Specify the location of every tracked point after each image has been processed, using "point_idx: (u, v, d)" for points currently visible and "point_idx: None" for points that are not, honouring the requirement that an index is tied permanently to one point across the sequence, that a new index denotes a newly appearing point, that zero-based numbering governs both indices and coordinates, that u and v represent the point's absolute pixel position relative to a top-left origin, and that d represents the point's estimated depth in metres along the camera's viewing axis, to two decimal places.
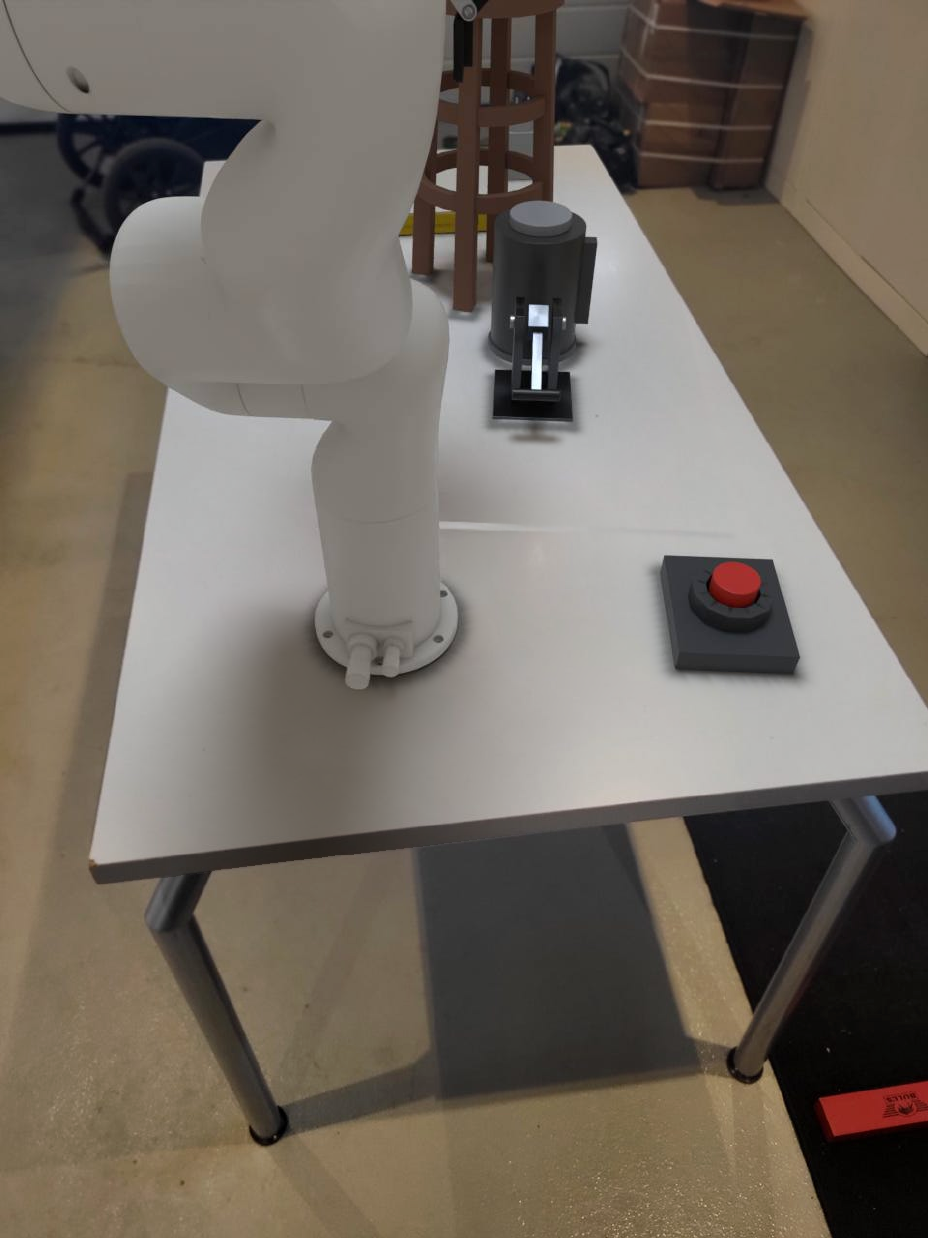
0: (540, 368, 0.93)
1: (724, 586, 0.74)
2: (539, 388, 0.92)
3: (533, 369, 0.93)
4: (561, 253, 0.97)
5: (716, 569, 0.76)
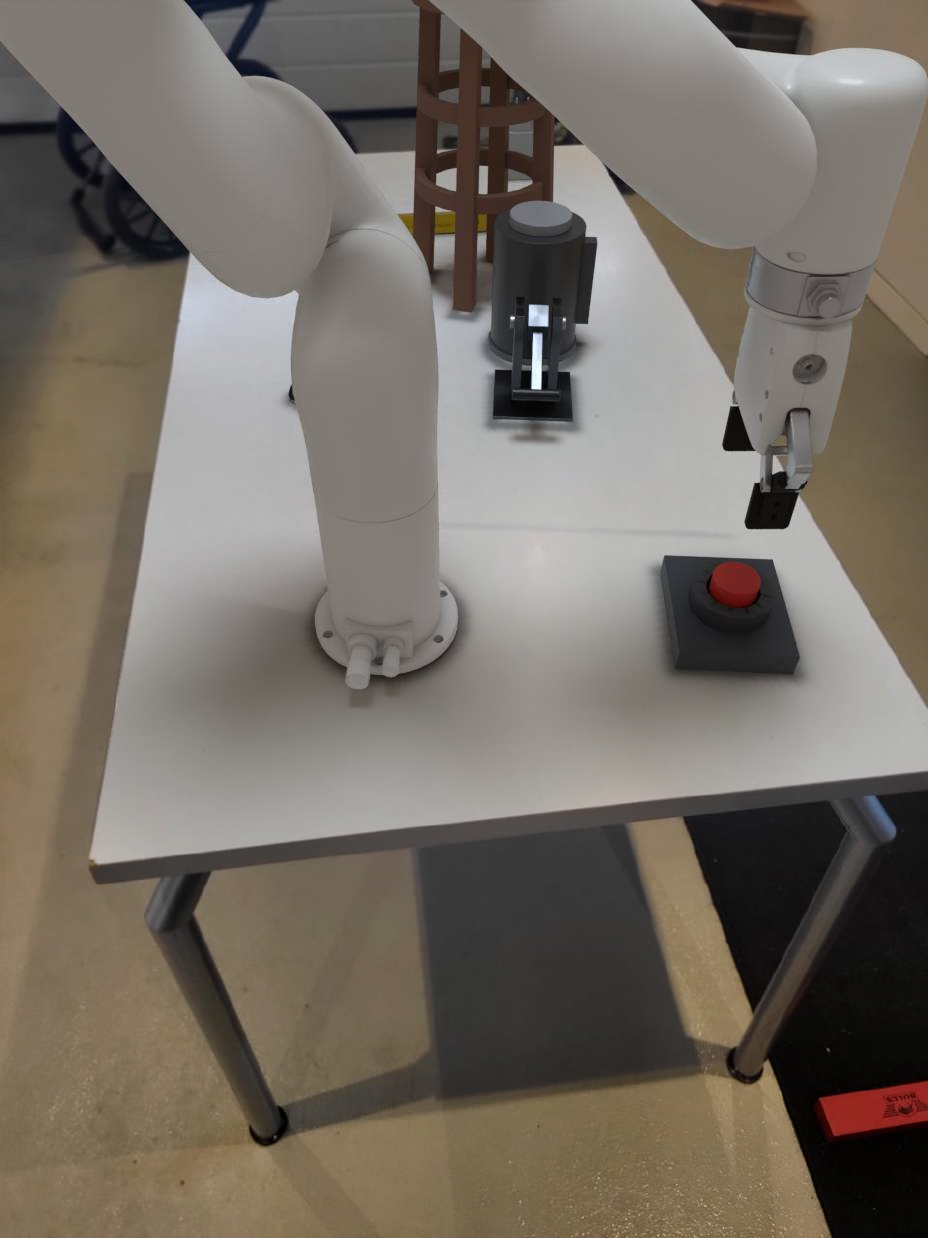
0: (540, 368, 0.93)
1: (724, 586, 0.74)
2: (539, 388, 0.92)
3: (533, 369, 0.93)
4: (561, 253, 0.97)
5: (716, 569, 0.76)
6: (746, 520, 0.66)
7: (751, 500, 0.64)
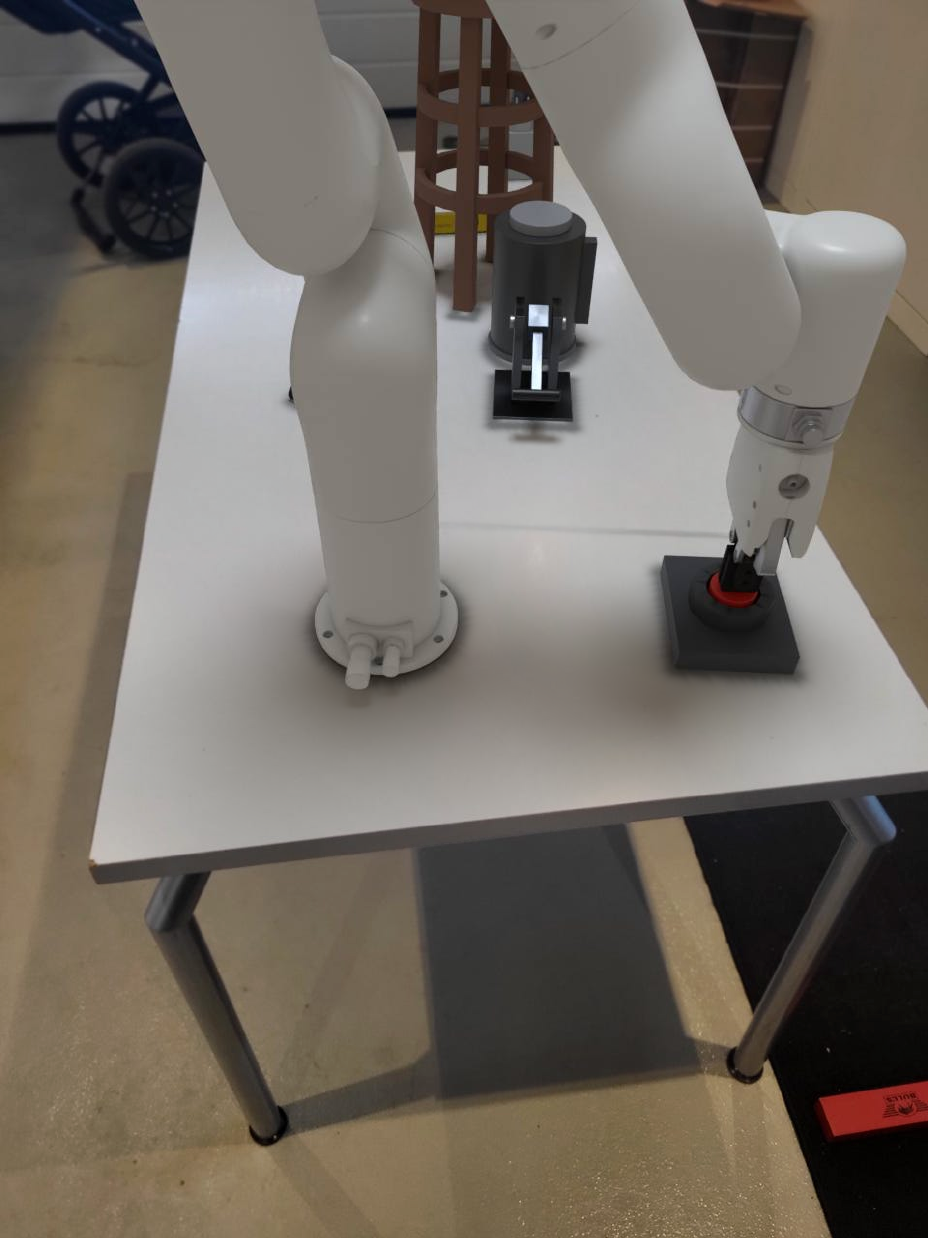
0: (540, 368, 0.93)
1: (721, 594, 0.75)
2: (539, 388, 0.92)
3: (533, 369, 0.93)
4: (561, 253, 0.97)
5: (713, 577, 0.77)
6: (721, 584, 0.75)
7: (726, 567, 0.74)
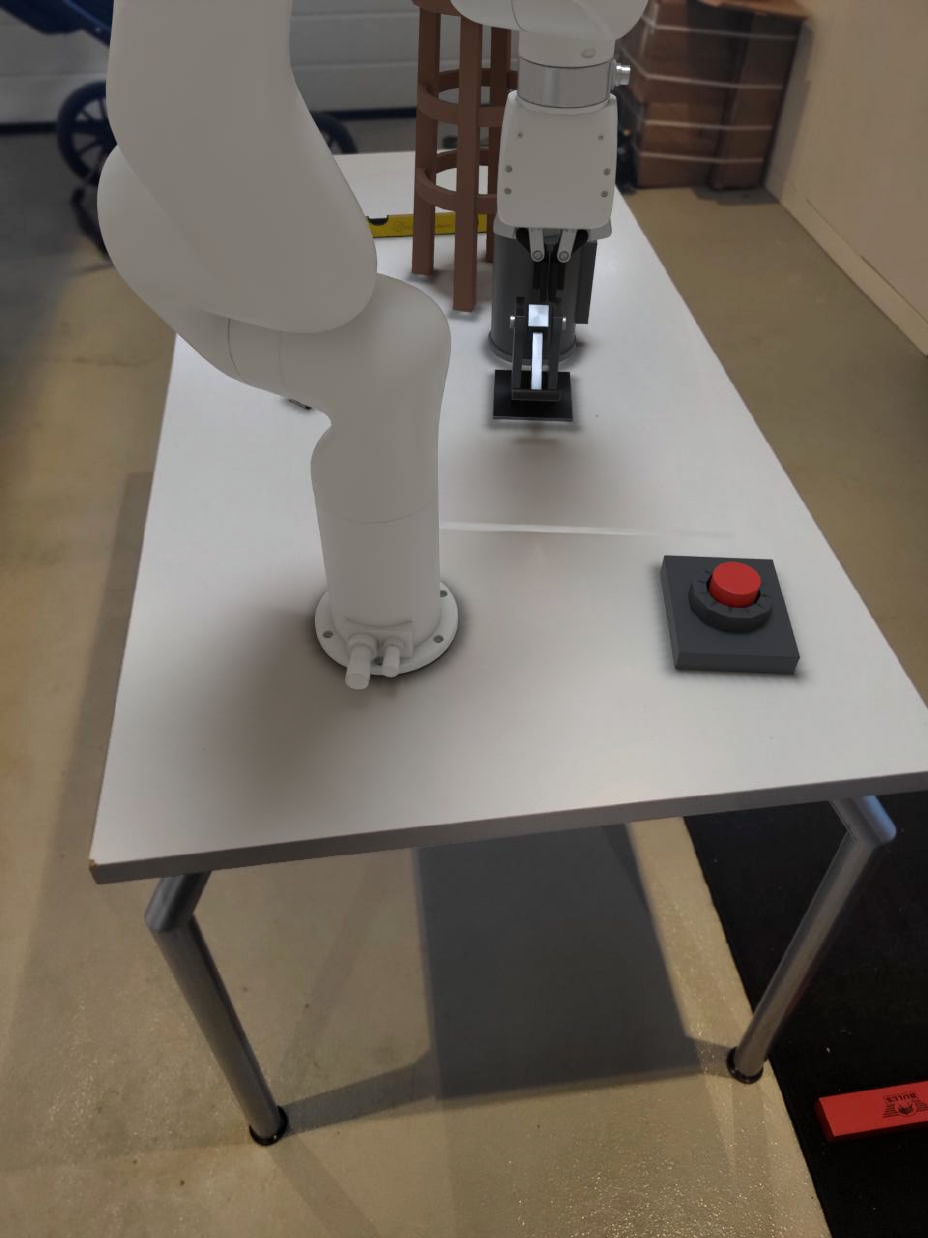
0: (540, 368, 0.93)
1: (724, 586, 0.74)
2: (539, 388, 0.92)
3: (533, 369, 0.93)
4: None
5: (716, 569, 0.76)
6: (554, 297, 0.83)
7: (555, 277, 0.82)
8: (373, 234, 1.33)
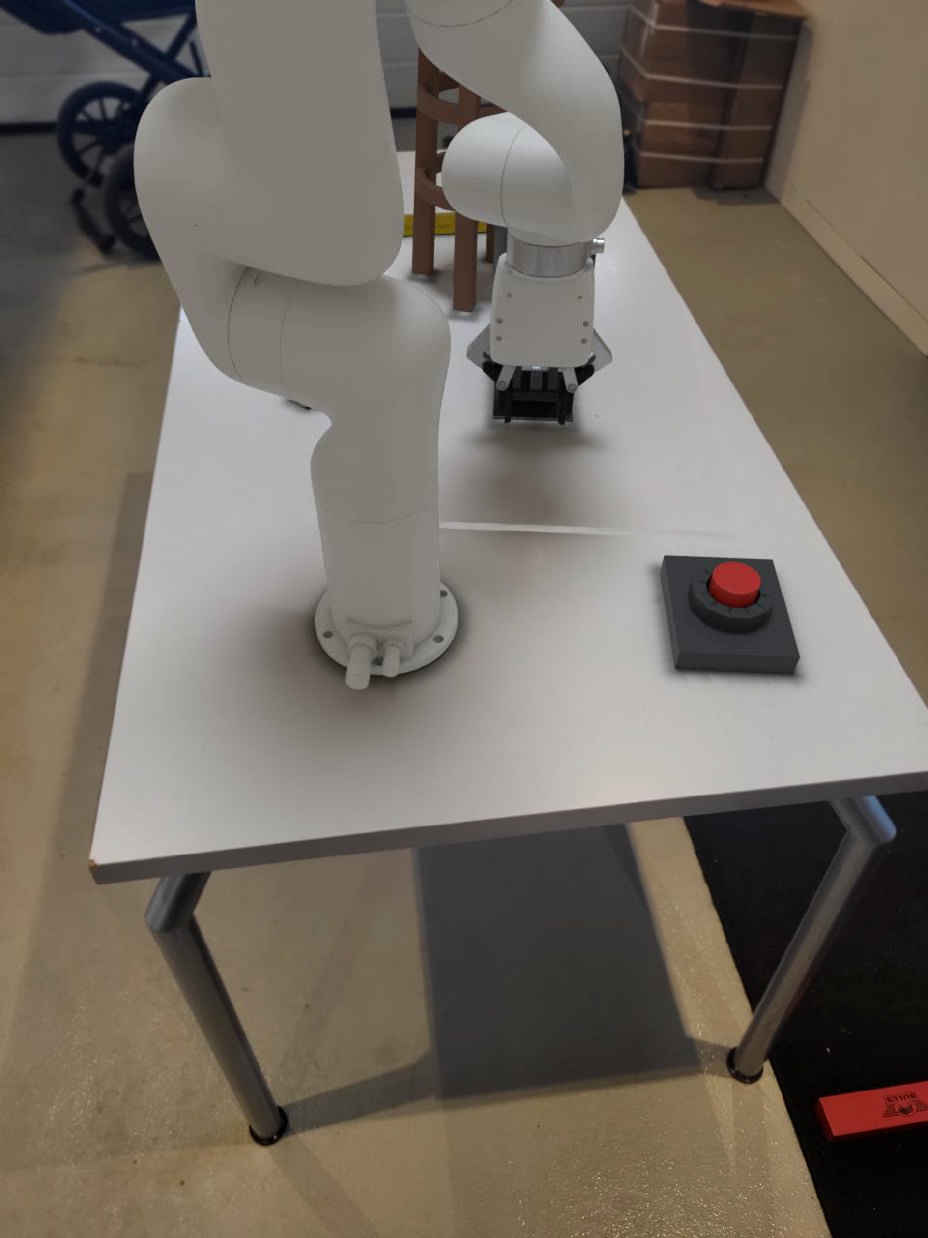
0: (540, 368, 0.93)
1: (724, 586, 0.74)
2: (539, 388, 0.92)
3: (533, 369, 0.93)
4: None
5: (716, 569, 0.76)
6: (563, 420, 0.93)
7: (565, 405, 0.92)
8: None
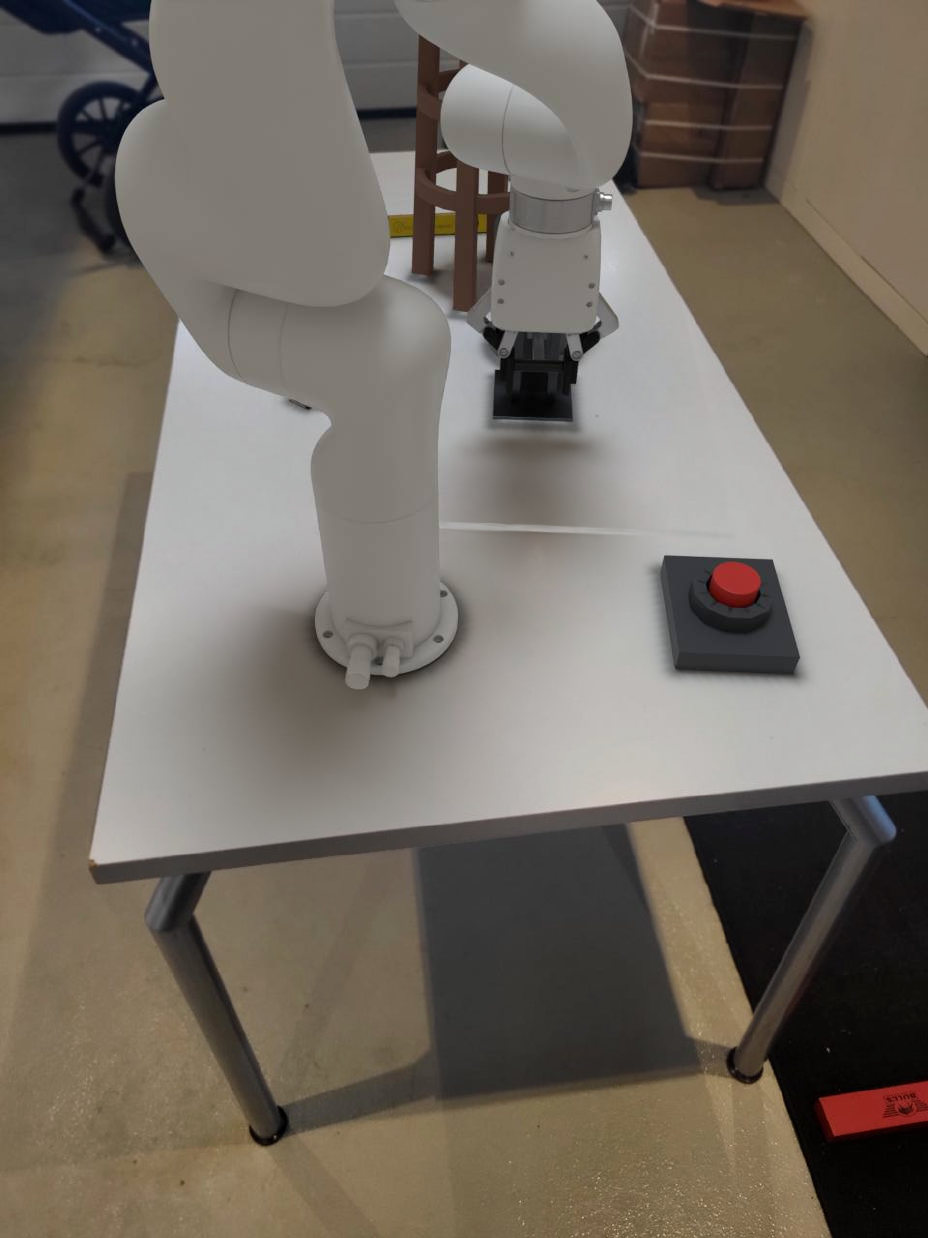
0: (542, 347, 0.91)
1: (724, 586, 0.74)
2: (542, 359, 0.89)
3: (535, 347, 0.91)
4: None
5: (716, 569, 0.76)
6: (567, 390, 0.89)
7: (569, 374, 0.88)
8: None
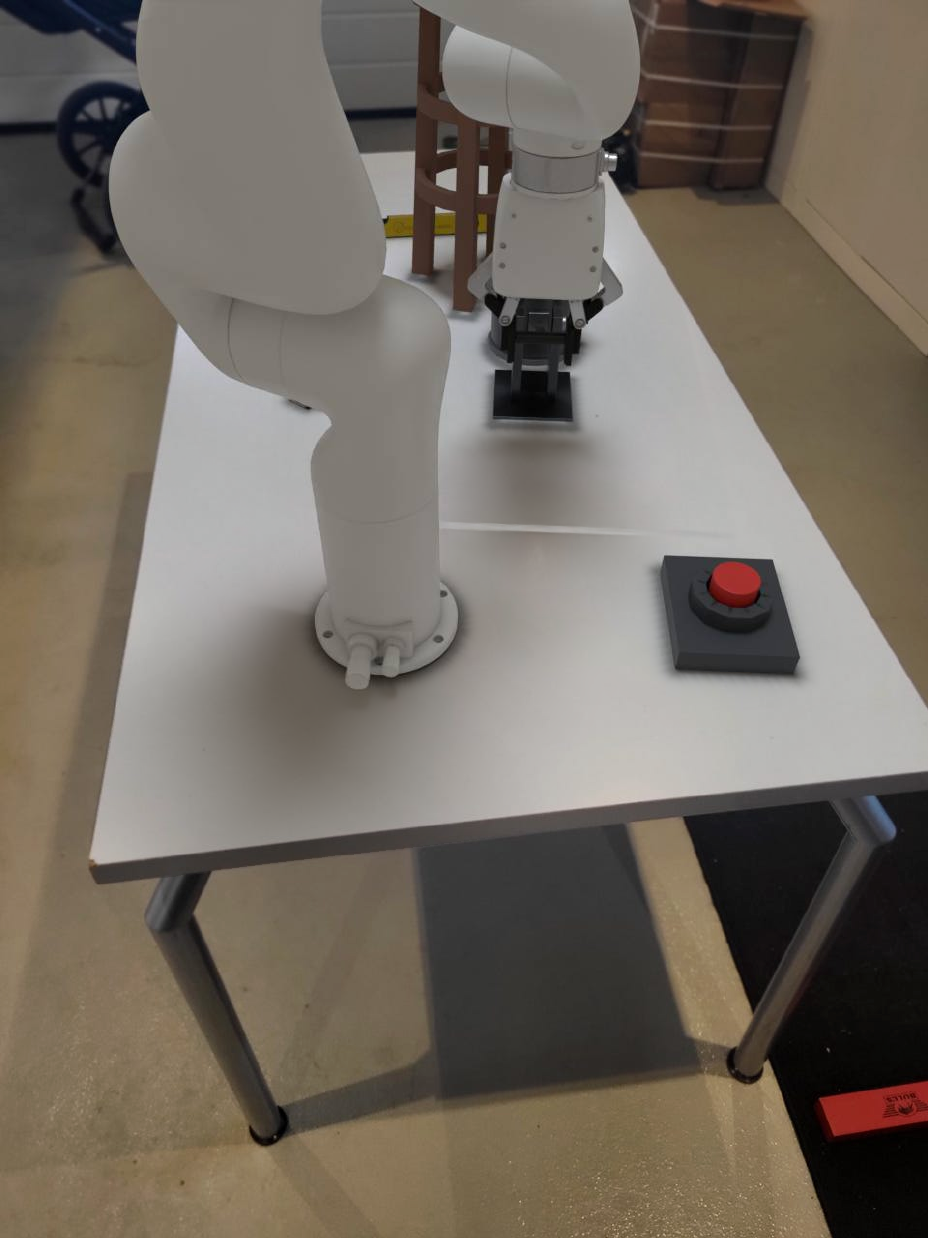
0: (543, 327, 0.90)
1: (724, 586, 0.74)
2: (544, 331, 0.88)
3: (536, 327, 0.90)
4: None
5: (716, 569, 0.76)
6: (570, 360, 0.87)
7: (572, 343, 0.86)
8: None
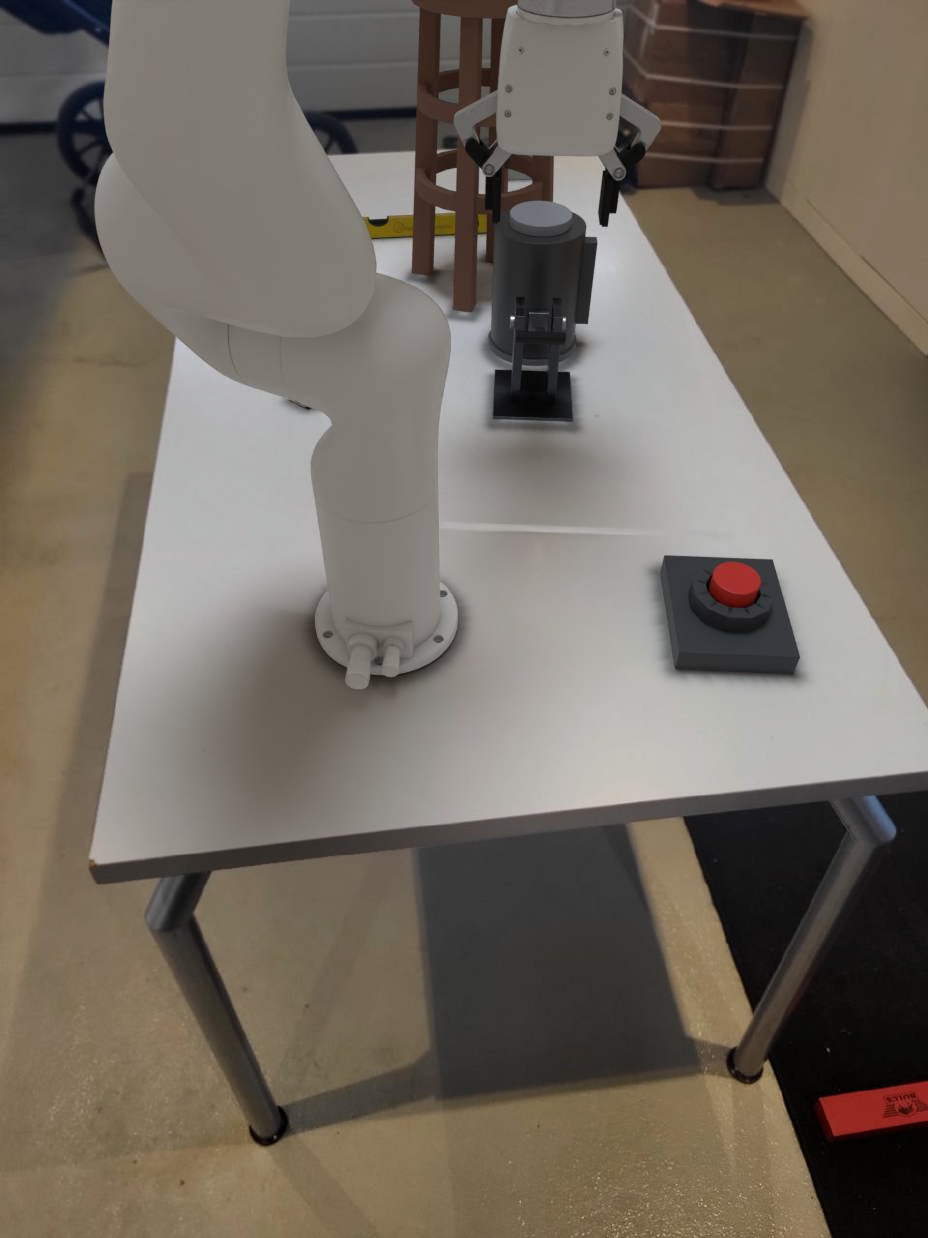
0: (543, 327, 0.90)
1: (724, 586, 0.74)
2: (544, 331, 0.88)
3: (536, 327, 0.90)
4: (561, 253, 0.97)
5: (716, 569, 0.76)
6: (607, 219, 0.78)
7: (609, 197, 0.77)
8: (373, 235, 1.32)
